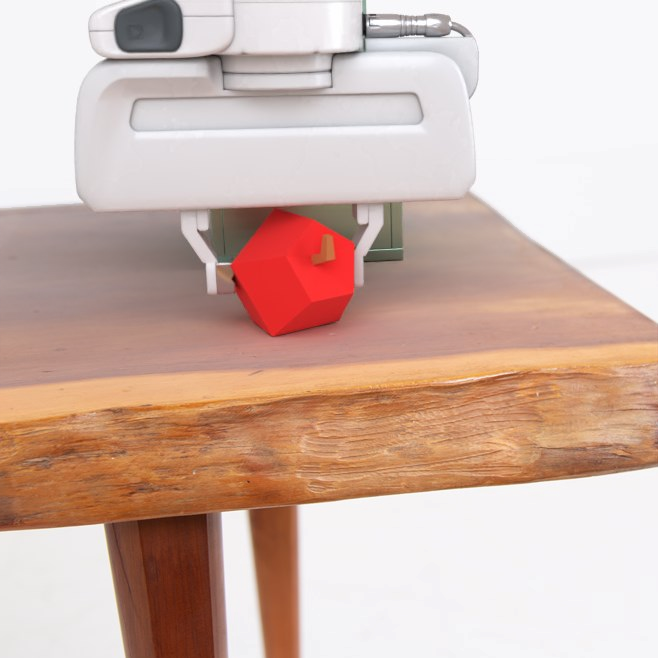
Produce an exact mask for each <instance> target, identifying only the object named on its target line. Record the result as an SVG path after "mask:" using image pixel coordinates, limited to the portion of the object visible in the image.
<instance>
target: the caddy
mask: <svg viewBox="0 0 658 658" xmlns="http://www.w3.org/2000/svg"><path fill="white" fill-rule="evenodd" d="M274 208H277V209H280V210H284V211H287V212H290V213H293V214H297V215H300V216H303V217H307V218H310V219H313V220H315V221H317V222H318V223H320V224H322V225H324V226H325V227H327V228H329V229H331V230H332V231H334V232H336V233H338V234H339V235H341V236H343V237H345V238H346V239H348V240H350V241H351V240H352V238H353V236H354V234H355V232H356V231H357V229H358V227H359V225H360V224H359V223H357V221H356V220H355V218H354V217H353V215H352V204H338V205H310V206H283V207H255V208H228V209H208V213H209V224H210V225H209V227H210V237H211V239H210V240H211V246H212V247H213V249H214V250H215V252H216V253H217V256H221V255H233V260H235V258H236V257H237V256H238V255H239V253H240V252H241V251H242V249H243V248H244V247H245V246H246V244H247V243H248V242H249V240H250V239H251V238H252V237H253V235H254V234H255V233H256V232H257V230H258V229H259V228H260V226H261V225H262V224H263V223H264V221H265V220H266V219H267V217H268V216H269V215H270V214H271V212H272V211H273V210H274ZM403 214H404V213H403V202H392V203H383V215H384V224H383V226H382V228H381V230H380V231H379V233H378V235H377V237H376V238H375V240H374V242H373V244H372V246H371V247H370V249H369V251H368V253H367V254H366V256H363V263H364V262H382V261H400V260H403V259H404V229H403V227H404V225H403V224H404V221H403Z"/></svg>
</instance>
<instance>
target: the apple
mask: <svg viewBox="0 0 658 658" xmlns="http://www.w3.org/2000/svg"><path fill="white" fill-rule="evenodd" d="M230 267H231V269H232V270H233V272H234V274H235V275H234V276H233V278H234V280H235V292H236V293H235V294H236V295H237V297H238V299H239V300H240V302H241V304H242V306H243V307H244V309H245V311H246V312H247V314H248V316H249V318H250V319H251V320H252V322H253V324H255V325H257V327H259V328H261V329H262V330H263V331H264V332H265V333H267V334H268V335H269V336H271V337H276V336H277V337H278V336H280V335H281V336H282V335H286V334H289V333H290V334H291V333H295V332H298V331H303V330H307V329H311V328H315V327H320V326H323V325H328V324H332V323H336V322H339V321H340V319H341V318H342V316H343V314H344V312H345V310H346V309H347V307H348V305H349V303H350V301H351V299H352V297H353V296H354V294H355V288H354V243H353V242H352V241H350V240H348V239H346V238H345V237H343V236H341V235H339V234H338V233H336V232H334V231H332V230H331V229H329V228H327V227H325V226H324V225H322V224H320V223H318V222H317V221H315V220H313V219H310V218H307V217H303V216H300V215H297V214H293V213H290V212H287V211H284V210H280V209H277V208H274V210H273V211H272V212H271V214H270V215H269V216H268V217H267V219H266V220H265V221H264V223H263V224H262V225H261V226H260V228H259V229H258V230H257V232H256V233H255V234H254V235H253V237H252V238H251V239H250V240H249V242H248V243H247V244H246V246H245V247H244V248H243V249H242V251H241V252H240V253H239V255H238V256H237V257H236V258H235V260H234V261H233V262H232V264H231V265H230Z"/></svg>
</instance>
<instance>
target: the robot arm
mask: <svg viewBox="0 0 658 658" xmlns="http://www.w3.org/2000/svg"><path fill="white" fill-rule="evenodd" d="M87 30H88V32H87V33H88V38H89V44H90V46H91V49H92V50H93V51H94V53H96V55H98V56H100V57H102V58H103V59H102V60H100V61H99V62H98V63H96V64H94V66H93V67H91V68H90V69H89V70H88V72H87V73H86V75H85V76H84V78H83V79H82V81H81V83H80V86H79V89H78V93H77V97H76V106H75V118H74V119H75V120H74V140H73V141H74V142H73V145H74V147H73V150H74V151H73V153H74V155H73V156H74V158H73V160H74V180H75V191H76V195H77V197H78V198H79V199H80V200H81V201H82V202H83V204H85V206H87V208H88V209H90V210H91V211H92V212H93V213H94V214H95V213H96V214H114V213H115V214H117V213H118V214H119V213H140V212H142V213H143V212H146V213H147V212H168V211H179V214H180V215H179V216H180V227H181V228H180V229H181V233H182V235H183V237H184V238H185V239H186V241H187V242H188V244H189V245H190V247H191V248H192V249H193V251H194V252H195V254H196V255H197V257H198V258H199V260H200V261H201V263H202V264H205V277H206V291H207V296H219V295H235V294H237V293H236V292H235V280H234V278H233V276H234V275H235V274H234V272H233V270H232V269H231V267H230V265H231V264H232V262H233V261H234V260H233V255H221V256H217V253H216V252H215V250H214V249H213V247H212V243H211V242H210V241H209V240H208V238H207V236H206V234H205V233H204V232H205V231H209V228H210V225H209V224H210V222H209V209H228V208H255V207H283V206H310V205H338V204H352V215H353V217H354V218H355V220H356V221H357V223H359V224H360V225H359V227H358V229H357V231H356V232H355V234H354V236H353V238H352V240H351V241H352V242H353V243H354V289H363V288H364V278H365V277H364V262H363V256H366V254H367V253H368V251H369V249H370V247H371V246H372V244H373V242H374V240H375V238H376V237H377V235H378V233H379V231H380V230H381V228H382V226H383V224H384V215H383V203H392V202H402V203H418V202H443V201H444V202H445V201H446V202H447V201H460V200H462V199H463V198H464V197H465V196H466V195H467V193H468V192H469V191H470V190H471V188H472V187H473V186H474V184H475V183H476V180H477V158H476V156H477V154H476V140H475V131H474V123H473V114H472V109H471V103H470V100H471V98H472V97H473V95H474V93H475V92H476V90H477V86H478V83H479V64H480V63H479V62H480V61H479V59H480V58H479V57H480V54H479V53H480V52H479V46H478V43H477V40H476V38H475V37H474V35H473V33H472V32H471V31H470V29H468V28H467V27H466V26H465V25H462V24H461V23H459V22H455V21H452V18H451V15H449V14H444V13H438V12H437V13H433V12H432V13H431V12H430V13H425V14H423V15H422V14H421V15H409V14H405V15H404V14H398V13H367V14H363V12H362V0H119V1H115V2H113V3H112V2H111V3H110V4H107V5H104V6H102V7H100V8H98V9H96V10H94V11H93V12H92V13H91V15H90V16H89V18H88V22H87ZM452 31H454V32H456V33H458V34H459V35H461V36H449V35H450V34H451V33H452ZM363 36H364V38H363ZM362 48H363V50H361V49H362Z"/></svg>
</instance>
